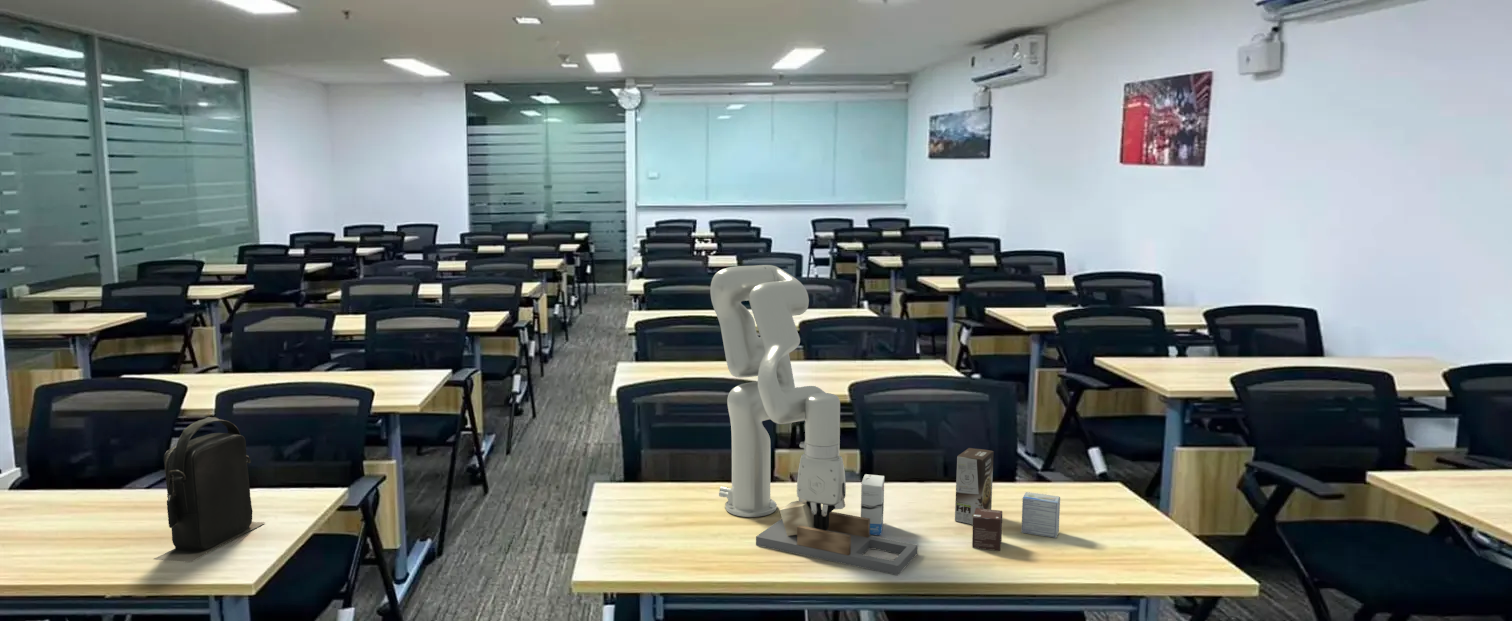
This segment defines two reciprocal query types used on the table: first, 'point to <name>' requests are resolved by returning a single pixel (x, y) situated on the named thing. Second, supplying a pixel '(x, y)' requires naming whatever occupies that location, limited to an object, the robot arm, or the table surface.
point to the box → (987, 529)
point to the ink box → (873, 501)
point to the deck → (859, 545)
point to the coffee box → (973, 483)
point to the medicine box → (1040, 514)
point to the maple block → (796, 517)
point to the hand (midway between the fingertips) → (821, 530)
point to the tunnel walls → (834, 533)
